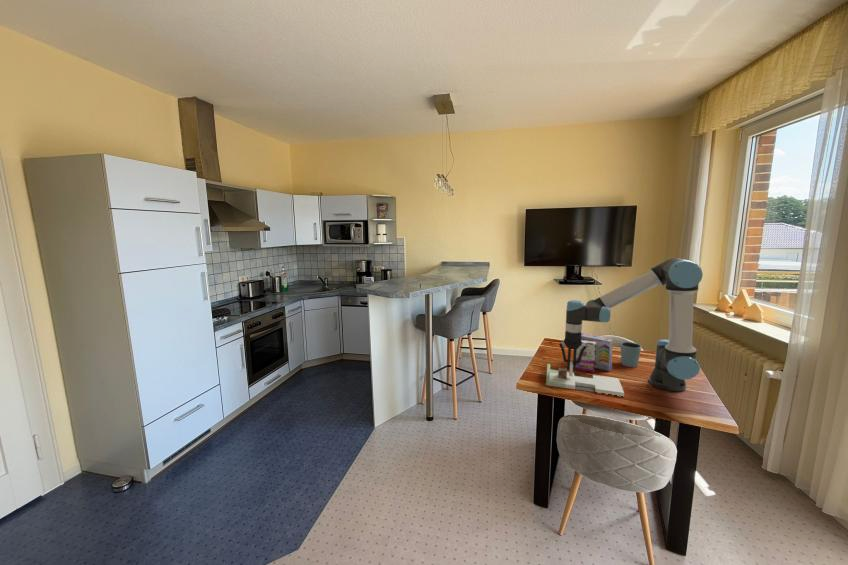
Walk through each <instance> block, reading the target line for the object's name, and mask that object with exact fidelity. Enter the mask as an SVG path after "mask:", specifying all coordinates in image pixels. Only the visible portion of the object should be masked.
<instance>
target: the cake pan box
mask: <svg viewBox="0 0 848 565" xmlns="http://www.w3.org/2000/svg"><path fill="white" fill-rule="evenodd" d="M581 340H586V341H594V342H596V359H595V369H599V370H602V371H607V372H609V371H611V370H612V368H613V364H612V362H613V341H614V340H613V339H609V338H606V337H601V336H598V335H594V334H588V333H582V332H581Z"/></svg>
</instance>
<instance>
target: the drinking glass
mask: <svg viewBox="0 0 848 565" xmlns="http://www.w3.org/2000/svg"><path fill="white" fill-rule="evenodd" d="M641 349H642V345H641V344H639V343H636V342H632V341H631V342H630V341H623V342H620V356H621V357H620V364H621V365H622V364H623V365H622V366H624V365H625V366H624V367H627V366H628V367H629V368H637V367H638V366H639V360H640V354H641Z"/></svg>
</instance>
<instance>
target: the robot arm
mask: <svg viewBox="0 0 848 565" xmlns="http://www.w3.org/2000/svg"><path fill="white" fill-rule="evenodd" d="M702 278H703V270H702V268H701V266H700V265H698V264H697V263H696V262H694V261H692V260H689V259H684V258H680V257H673V258H669V259H666V260H664V261H662V262H661V263H659V264H656V265H655V266H653V267H652V268H650V269H649V270H648V272H646V273H644V274H643V275H640V276H638V277H636V278H635V279H633V280H630V281H629V282H627V283H625V284H622V285H621V286H619V287H617V288H615V289H613V290H611V291H609V292H607V293H605V294H603V295H601V296H599V297H597V298H595V299H590V300H588V301H586V303H585V304H584V302H583V301H581V300H577V299H576V300H573V299H572V300H568V301H567V303H566V310H565V311H566V312H565V332H564V339H563V341H561V342H559V343H558V345H559V347H560V348H561V353H562V358H563V362H564V363H566V369H567V370H569V371H568V372H569V376H572V375H573V373H574V371H575V370H576V369H575V366H576V364H577V363H578V364H579V363H580V360H581V358H582V355H583V352H584V350H585V349H586V345H584V344H582V341H581V333H582V331H583V330H582V328H583V321H584V322H597V323H609V322H610V321H611V309H612V308H614V307H616V306H619V305H620V304H623V303H624V302H626V301H628V300H631V299H633V298H635V297H637V296H639V295H641V294H642V293H645V292H647V291H649V290H651V289H654V288H655V287H662V286H665V291H667V292H668V293H669V307H668V308H669V312H668V313H669V314H668V315H669V316H668V319H669V320H668V339H666V338H665V339H659V340H658V341H657V342H656V352H655V353H656V354H655V360H654V368H653V370H652V372H651V373H650V375H649V378H648V381H649V383H650V384H651V385H652V386H654V387H656V388H659V389H662V390H665V391H671V392H683V391H685V390H686V389H687V383H686V380H691V379H692V380H693V379H694V378H695V377H697V375H699V373H700V370H701V366H700V363H699V361H698V360H697V348H696V347H695V346H693V336H694V335H693V330H694V329H693V328H694V325H693V324H694V294H695V293H696V292H698V291H699V283H701V281H702V280H703V279H702ZM565 346H566V347H567V356H566V351H565ZM580 346H581V350H580V353H579V356H578V359H577V360H576V351H577V349H578V348H579V347H580ZM572 350H573V354H572ZM571 354H572V361H571Z"/></svg>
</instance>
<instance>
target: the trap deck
mask: <svg viewBox="0 0 848 565" xmlns="http://www.w3.org/2000/svg"><path fill="white" fill-rule="evenodd" d="M546 366H547V367H546V379H545V382H546V383H545V385H546V386H551V387H557V388H562V389H563V388H564V389H570V390H575V389H576V390H577V391H582V392H587V393H588V392H590V393H595V392H597V393H596V394H601V393H605V394H604V395H608V394H612V395H611V396H614V395H617V397H621V396H623V397H622V398H624V396H625V392H624V389H623V386H622V384H621V381H620V378H616V377H610V376H602V375H592V377H588V376H587V377H586V376H582V375H581V376H579V375H575V372H573V375H572V376H569V371H567V379H561V378H558V370H557V369H552V368H551V363H547V365H546Z"/></svg>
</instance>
